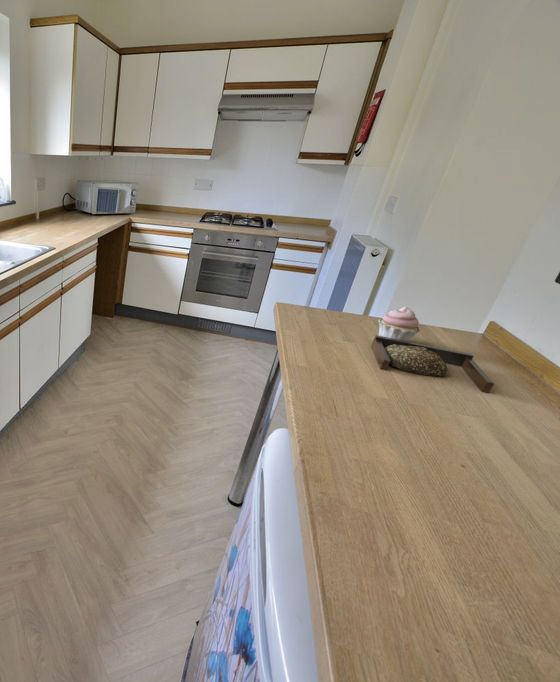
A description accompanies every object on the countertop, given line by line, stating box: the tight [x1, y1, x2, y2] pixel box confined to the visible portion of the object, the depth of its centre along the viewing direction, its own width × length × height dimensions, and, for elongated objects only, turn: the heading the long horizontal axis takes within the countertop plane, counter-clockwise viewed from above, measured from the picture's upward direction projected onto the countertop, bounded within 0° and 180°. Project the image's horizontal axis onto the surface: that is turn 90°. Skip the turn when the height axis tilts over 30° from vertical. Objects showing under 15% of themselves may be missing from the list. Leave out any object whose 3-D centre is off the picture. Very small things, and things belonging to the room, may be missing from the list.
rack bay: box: [371, 334, 495, 394], centre depth 98 cm, size 19×16×3 cm
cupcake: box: [377, 306, 421, 342], centre depth 111 cm, size 9×9×10 cm
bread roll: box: [384, 344, 449, 377], centre depth 99 cm, size 13×12×5 cm
